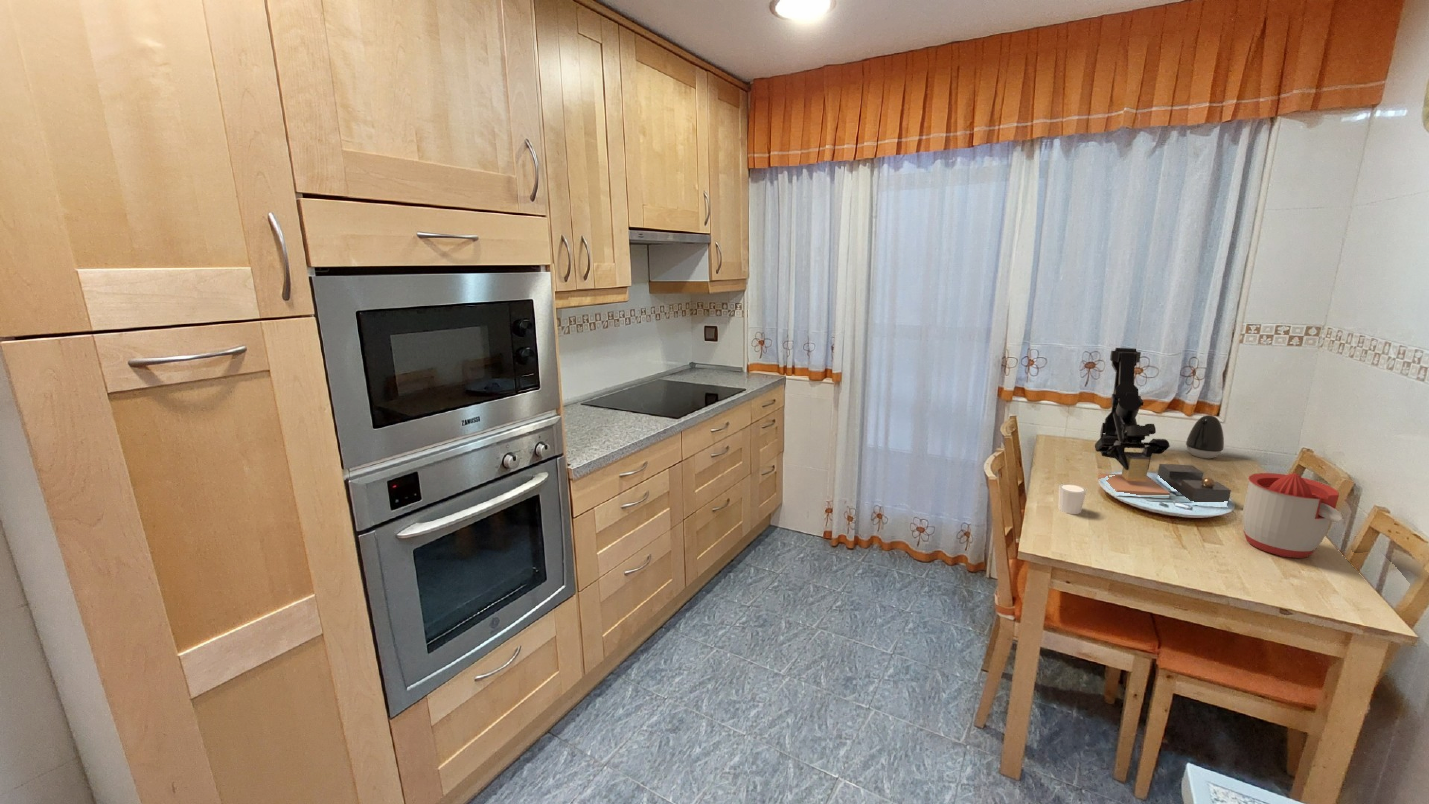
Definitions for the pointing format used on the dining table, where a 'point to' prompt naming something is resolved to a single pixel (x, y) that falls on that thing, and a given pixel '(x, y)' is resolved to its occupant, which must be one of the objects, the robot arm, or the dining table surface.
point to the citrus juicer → (1288, 513)
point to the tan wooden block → (1136, 466)
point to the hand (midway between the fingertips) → (1137, 470)
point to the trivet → (1134, 485)
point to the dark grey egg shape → (1206, 438)
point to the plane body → (1193, 483)
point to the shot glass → (1071, 498)
